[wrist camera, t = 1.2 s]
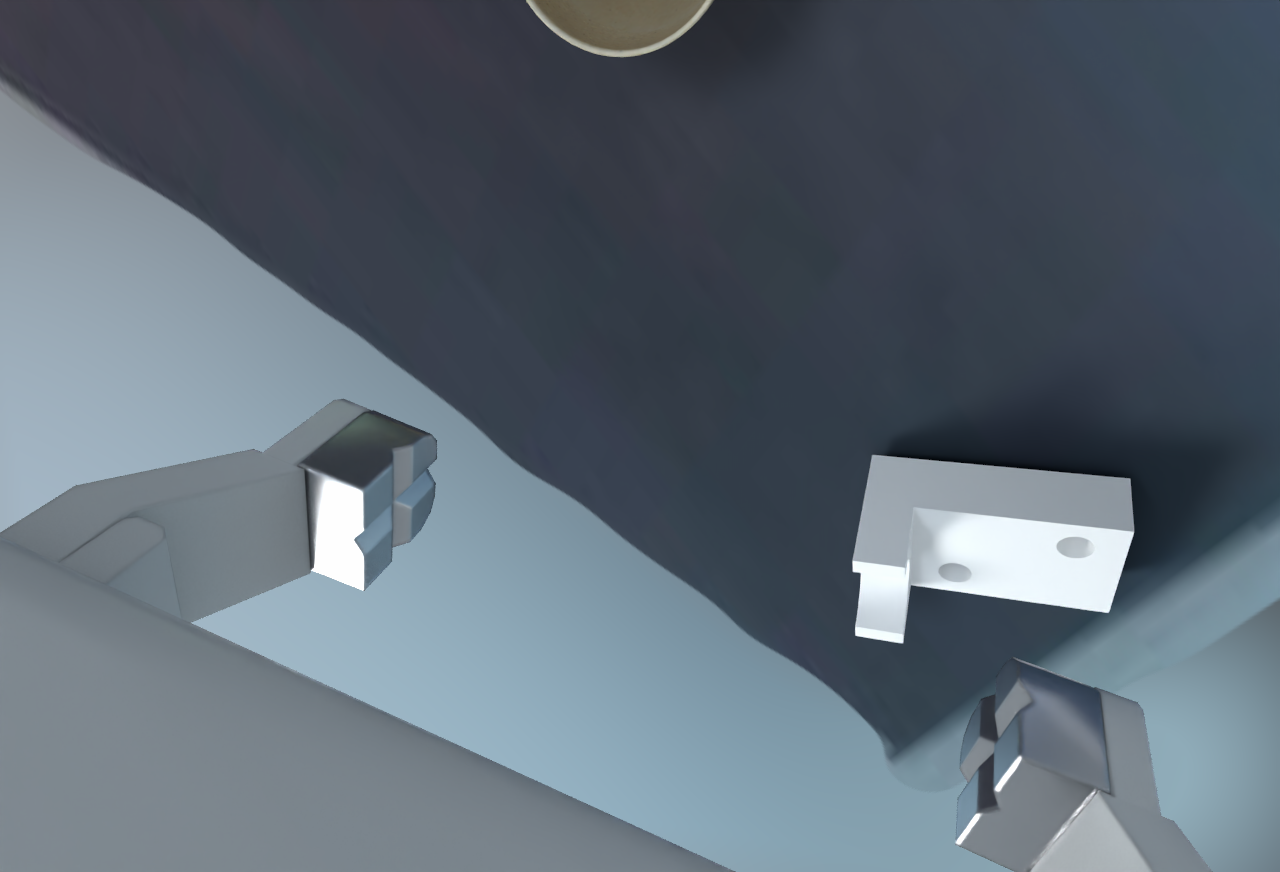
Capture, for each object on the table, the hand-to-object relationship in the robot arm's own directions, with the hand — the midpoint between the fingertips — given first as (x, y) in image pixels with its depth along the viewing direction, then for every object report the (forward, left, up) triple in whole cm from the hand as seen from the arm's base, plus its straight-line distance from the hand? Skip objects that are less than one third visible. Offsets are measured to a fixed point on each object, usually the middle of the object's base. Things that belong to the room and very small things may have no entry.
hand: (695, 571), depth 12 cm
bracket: (+12, +21, -36) cm, 43 cm away
